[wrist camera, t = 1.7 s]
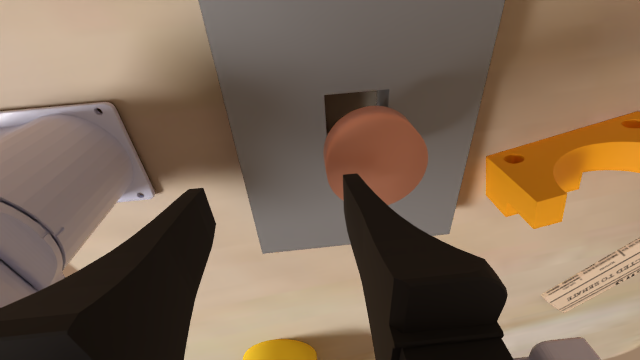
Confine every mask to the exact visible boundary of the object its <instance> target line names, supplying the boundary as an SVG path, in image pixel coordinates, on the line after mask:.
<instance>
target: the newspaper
mask: <svg viewBox="0 0 640 360" xmlns="http://www.w3.org/2000/svg"><path fill="white" fill-rule="evenodd" d="M638 273H640V238H638V239H636V240H634V241H633V242H631V243H629V244H628V245H626V246H624V247H622V248H621V249H619V250H617V251H615V252H614V253H612V254H610V255H609V256H607V257H605V258H603V259H602V260H600V261H598V262H597V263H595V264H593V265H591V266H590V267H588V268H586V269H585V270H583V271H581V272H579V273H578V274H576V275H574V276H572V277H571V278H569V279H567V280H566V281H564V282H562V283H560V284H559V285H557V286H555V287H554V288H552V289H550V290H548V291H547V292H545V293H543V294H541V295H542V297H543V298H544V299H545V300H546V301H548V302H549V303H550V304H551V305H553V306H554V307H555V308H557V309H558V310H560V311H561V312H563V313H565V312H567V311H569V310H570V309H572V308H574V307H576V306H578V305H580V304H582V303H584V302H585V301H587V300H589V299H591V298H593V297H595V296H597V295H598V294H600V293H602V292H604V291H606V290H608V289H610V288H612V287H613V286H615V285H617V284H619V283H621V282H623V281H625V280H626V279H628V278H630V277H632V276H634V275H636V274H638Z"/></svg>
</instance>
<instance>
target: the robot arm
mask: <svg viewBox="0 0 640 360" xmlns="http://www.w3.org/2000/svg"><path fill="white" fill-rule="evenodd" d="M97 108H99V109H101V110H102V112H103V113H100V112H99V111H98V110H97ZM140 193H142V194H143V195H141V194H140ZM154 195H155V191H154V189H153V187H152V185H151V183H150V180H149V178H148V176H147V174H146V172H145V170H144V168H143V165H142V163H141V161H140V159H139V157H138V155H137V153H136V150H135V148H134V146H133V144H132V142H131V140H130V138H129V135H128V133H127V131H126V129H125V127H124V125H123V123H122V120H121V118H120V116H119V114H118V112H117V110H116V108H115V106H114V105H113V104H111V103H109V102H98V103H87V104H76V105H65V106H54V107H43V108H32V109H21V110H10V111H0V360H184V354H185V348H186V342H187V337H188V331H189V326H190V321H191V316H192V311H193V306H194V302H195V298H196V294H197V291H198V288H199V284H200V281H201V278H202V275H203V272H204V269H205V266H206V263H207V260H208V257H209V254H210V251H211V248H212V244H213V239H214V233H215V226H216V223H215V220H214V217H213V214H212V212H211V209H210V206H209V203H208V200H207V197H206V194H205V192H204V189H203V188H198V189H189V190H187V191H186V192H185V193H184V194H182V195H181V196H180V197H179V198H178V199H176V200H175V201H174V202H173V203H172V204H171V205H170V206H169V207H167V208H166V209H165V210H164V211H163V212H162V213H160V214H159V215H158V216H157V217H156V218H155V219H153V220H152V221H151V222H150V223H148V224H147V225H146V226H145V227H143V228H142V229H141V230H140V231H138V232H137V233H136V234H135V235H133V236H132V237H131V238H129V239H128V240H127V241H125V242H124V243H122V244H121V245H119V246H118V247H116V248H115V249H114V250H112V251H111V252H109V253H107V254H106V255H104V256H103V257H101V258H99V259H98V260H96V261H94V262H93V263H91V264H89V265H87V266H86V267H84V268H82V269H81V270H79V271H77V272H75V273H73V274H72V275H70V276H68V277H66V278H65V277H64V275H63V272H62V271H63V269H64V268H65V267H66V266H67V264H68V263H69V262H70V261H71V259H72V258H73V257H74V256H75V254H76V253H77V252H78V251H79V249H80V248H81V247H82V245H83V244H84V243H85V242H86V240H87V239H88V238H89V237H90V235H91V234H92V233H93V232H94V230H95V229H96V228H97V227H98V225H99V224H100V223H101V221H102V220H103V219H104V218H105V216H106V215H107V214H108V213H109V211H110V210H111V209H112V208H113V206H114V205H115V204H116V203H117V202H126V201H136V200H146V199H152V198H153V197H154ZM343 199H344V215H345V221H346V227H347V232H348V236H349V239H350V243H351V246H352V249H353V253H354V256H355V259H356V263H357V266H358V270H359V273H360V277H361V281H362V285H363V291H364V296H365V301H366V306H367V312H368V318H369V323H370V329H371V335H372V340H373V346H374V352H375V358H376V360H601V359H600V357H599V356H598V355H597V354H596V353H595V351H594V350H593V349H592V348H591V346H590V345H589V344H588V343H587V341H586V340H585V339H584V338H581V337H577V338H568V339H558V340H549V341H544V342H541V343H539V344H537V345H535V346H534V347H533V348H532V350H531V352H530V355H529V357H522V358H512V356H511V354H510V353H509V351H508V349H507V348H506V346H505V344H504V342H503V341H502V339H501V338H503V336H504V334H503V331H502V329H501V328H500V326H499V324H498V322H497V320H498V318H499V316H500V314H501V311H502V309H503V307H504V305H505V303H506V299H507V290H506V287H505V286H504V284H503V283H502V282H501V280H500V279H499V277H498V276H497V274H496V273H495V271H494V270H493V269H492V268H491V267H490V265H489V264H488V263H487V262H486V260H485V259H483V258H480V257H478V256H475V255H472V254H470V253H467V252H465V251H462V250H460V249H457V248H455V247H453V246H451V245H449V244H447V243H445V242H442V241H440V240H438V239H437V238H435V237H433V236H431V235H429V234H427V233H426V232H424V231H422V230H421V229H419V228H417V227H416V226H414V225H413V224H411V223H410V222H408V221H407V220H405V219H404V218H403V217H401V216H400V215H399V214H397V213H396V212H395V211H394V210H393V209H391V208H390V207H389V206H388V205H387V204H386V203H385V202H384V201H383V200H382V199H381V198H379V197H378V196H377V195H376V194H375V193H374V192H373V190H372V189H371V188H370V187H369V186H368V185H367V184H366V183H365V182H364V180H363V179H362V178H361V177H360V176H359V175H358V174H357V173H355V174H345V175H343Z"/></svg>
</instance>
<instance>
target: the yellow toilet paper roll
mask: <svg viewBox="0 0 640 360" xmlns="http://www.w3.org/2000/svg"><path fill="white" fill-rule="evenodd" d="M243 360H317V354H316V351H315V350H314V349H313V348H312V347H311V346H310V345H308V344H306V343H304V342H301V341H297V340H290V339H276V340H269V341H265V342H261V343H259V344H256V345H254V346H252V347H251V348H250V349H248V350H247V351H246V353H245V354H244V356H243Z"/></svg>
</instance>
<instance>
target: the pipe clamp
mask: <svg viewBox="0 0 640 360" xmlns="http://www.w3.org/2000/svg"><path fill="white" fill-rule="evenodd" d="M596 170H621V171H631V172H637V173H640V112H639V111H637V112H634V113H630V114H627V115H624V116H620V117H617V118H613V119H610V120H607V121H603V122H600V123H597V124H593V125H590V126H587V127H583V128H580V129H576V130H573V131H570V132H566V133H563V134H560V135H556V136H553V137H550V138H546V139H543V140H539V141H536V142H533V143H529V144H526V145H523V146H519V147H516V148H513V149H509V150H506V151H502V152H499V153H496V154H492V155H489V156H486V196H487V197H488V198H489V199H490V200H491V201H492V202H493V203H494V204H495V206H496V207H497V208H498V209H499V210H500V211H501V212H502V213H503V214H504V216H505V217H508V216H511V215H515V214H519V215H520V216H521V217H522V218H523V219H524V220H525V221H526V222H527V223H528V224H529V225H530V226H531V227H532V228H533V229H536V228H539V227H543V226H547V225H551V224H554V223H558V222H562V218H563V213H564V208H565V203H566V198H567V192H570V191H573V190H577V189H579V186H580V181H581V177H582V172H588V171H596Z"/></svg>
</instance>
